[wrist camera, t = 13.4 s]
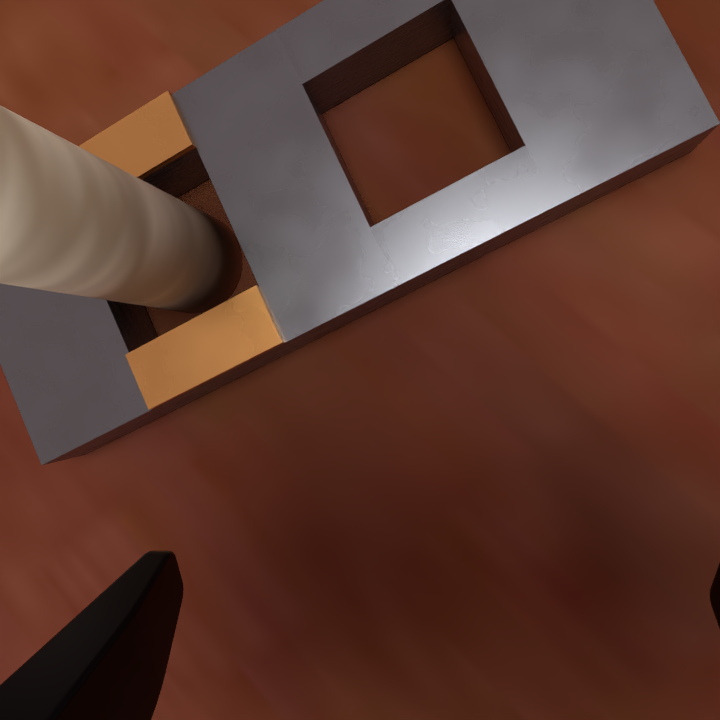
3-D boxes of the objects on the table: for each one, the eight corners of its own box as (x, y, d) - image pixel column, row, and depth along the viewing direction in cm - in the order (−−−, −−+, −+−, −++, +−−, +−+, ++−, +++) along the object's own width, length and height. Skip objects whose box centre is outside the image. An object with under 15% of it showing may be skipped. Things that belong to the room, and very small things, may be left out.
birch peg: (223, 326, 24) (-78, 289, 11) (139, 295, 24) (-236, 226, 12) (255, 231, 23) (-17, 79, 11) (168, 202, 24) (-183, 28, 11)
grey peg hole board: (559, -93, 21) (571, -161, 18) (690, 152, 20) (723, 119, 17) (-2, 245, 26) (-60, 232, 23) (85, 454, 25) (35, 466, 22)
